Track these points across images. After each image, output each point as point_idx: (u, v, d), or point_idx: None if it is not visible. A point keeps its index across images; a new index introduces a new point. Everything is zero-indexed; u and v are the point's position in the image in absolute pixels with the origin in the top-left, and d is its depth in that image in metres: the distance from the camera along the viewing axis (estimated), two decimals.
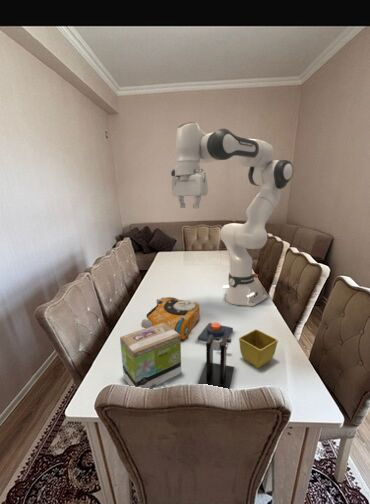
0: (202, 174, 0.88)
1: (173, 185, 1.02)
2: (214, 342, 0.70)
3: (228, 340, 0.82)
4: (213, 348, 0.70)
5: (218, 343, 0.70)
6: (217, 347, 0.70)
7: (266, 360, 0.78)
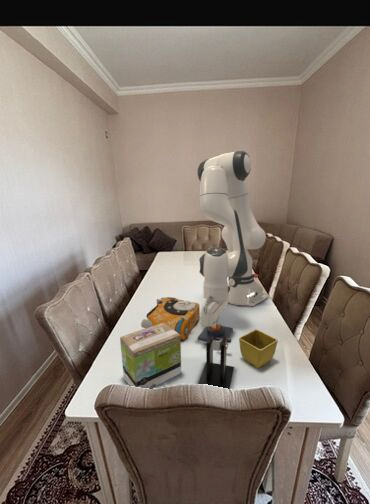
0: None
1: None
2: (214, 342, 0.70)
3: (228, 340, 0.82)
4: (213, 348, 0.70)
5: (218, 343, 0.70)
6: (217, 347, 0.70)
7: (266, 360, 0.78)
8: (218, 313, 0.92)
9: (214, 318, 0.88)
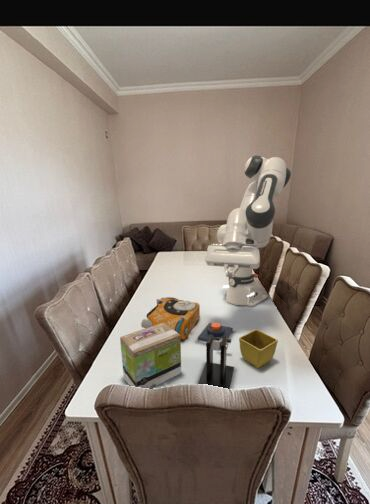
0: None
1: None
2: (214, 342, 0.70)
3: (228, 340, 0.82)
4: (213, 348, 0.70)
5: (218, 343, 0.70)
6: (217, 347, 0.70)
7: (266, 360, 0.78)
8: (227, 258, 0.93)
9: (217, 258, 0.94)
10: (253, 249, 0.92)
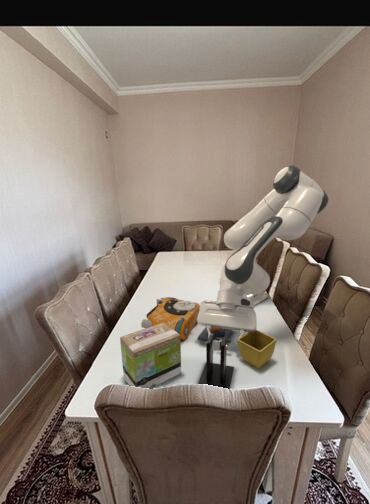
0: None
1: None
2: (214, 342, 0.70)
3: (228, 340, 0.82)
4: (213, 348, 0.70)
5: (218, 343, 0.70)
6: (217, 347, 0.70)
7: (266, 359, 0.78)
8: (221, 320, 0.85)
9: (210, 320, 0.86)
10: (249, 311, 0.83)
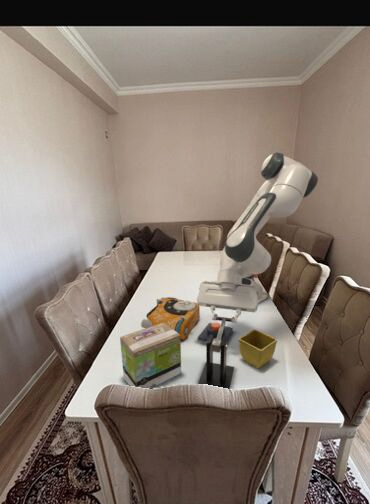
0: None
1: None
2: (214, 345, 0.70)
3: (229, 320, 0.81)
4: (213, 350, 0.70)
5: (218, 346, 0.69)
6: (217, 349, 0.70)
7: (266, 360, 0.78)
8: (222, 300, 0.83)
9: (210, 299, 0.84)
10: (250, 290, 0.82)
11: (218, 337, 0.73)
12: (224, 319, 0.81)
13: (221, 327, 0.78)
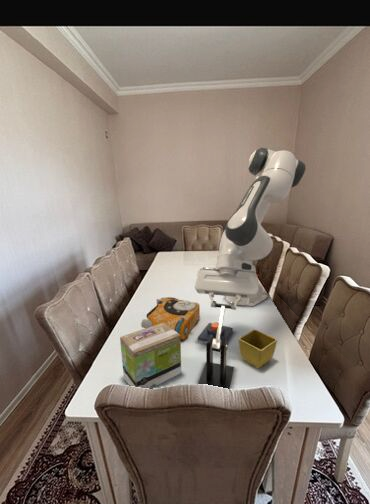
0: None
1: None
2: (213, 348, 0.70)
3: (229, 307, 0.78)
4: (214, 350, 0.71)
5: (217, 349, 0.69)
6: (217, 350, 0.70)
7: (266, 360, 0.78)
8: (221, 286, 0.79)
9: (208, 286, 0.80)
10: (250, 276, 0.78)
11: (218, 335, 0.72)
12: (223, 307, 0.78)
13: (220, 320, 0.75)
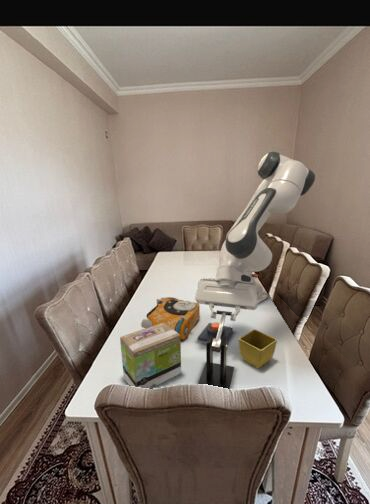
0: None
1: None
2: (213, 346, 0.70)
3: (229, 314, 0.80)
4: (213, 350, 0.71)
5: (217, 347, 0.69)
6: (217, 350, 0.70)
7: (266, 360, 0.78)
8: (220, 297, 0.81)
9: (208, 297, 0.82)
10: (250, 288, 0.79)
11: (218, 336, 0.73)
12: (224, 313, 0.80)
13: (221, 323, 0.77)
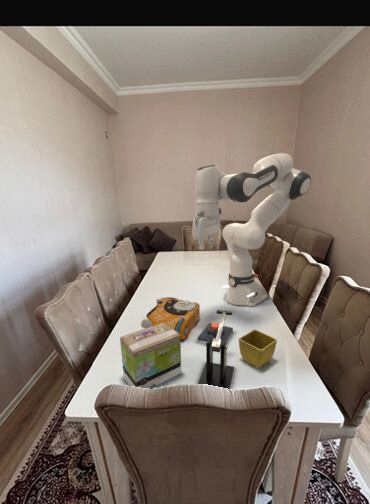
0: None
1: None
2: (213, 347, 0.70)
3: (229, 314, 0.80)
4: (213, 350, 0.71)
5: (217, 348, 0.69)
6: (217, 350, 0.70)
7: (266, 360, 0.78)
8: (209, 231, 0.95)
9: (205, 233, 0.92)
10: (218, 218, 1.01)
11: (218, 336, 0.73)
12: (224, 313, 0.80)
13: (221, 323, 0.77)
